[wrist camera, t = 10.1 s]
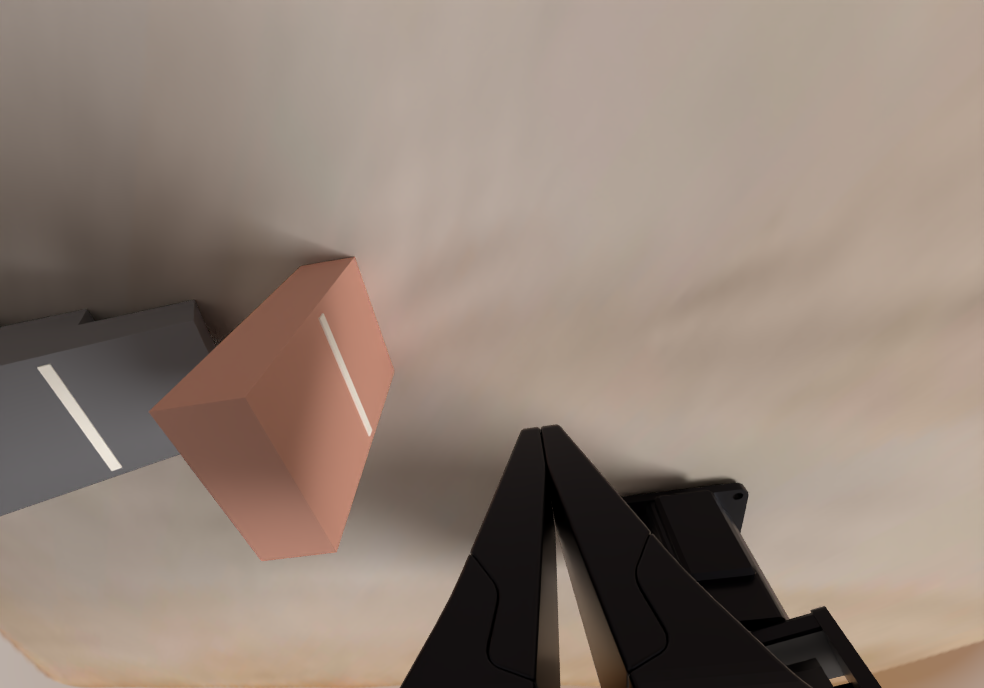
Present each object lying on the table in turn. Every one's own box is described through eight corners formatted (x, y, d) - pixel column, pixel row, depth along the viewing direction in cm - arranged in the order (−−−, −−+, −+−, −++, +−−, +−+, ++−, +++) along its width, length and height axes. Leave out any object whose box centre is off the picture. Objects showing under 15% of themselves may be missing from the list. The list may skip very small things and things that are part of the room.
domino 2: (244, 432, 17) (-34, 528, 13) (241, 404, 18) (-9, 484, 15) (193, 321, 14) (-166, 405, 11) (194, 299, 16) (-120, 367, 12)
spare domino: (395, 371, 18) (338, 551, 11) (347, 378, 18) (259, 561, 11) (355, 256, 15) (246, 397, 8) (299, 266, 15) (146, 412, 8)
